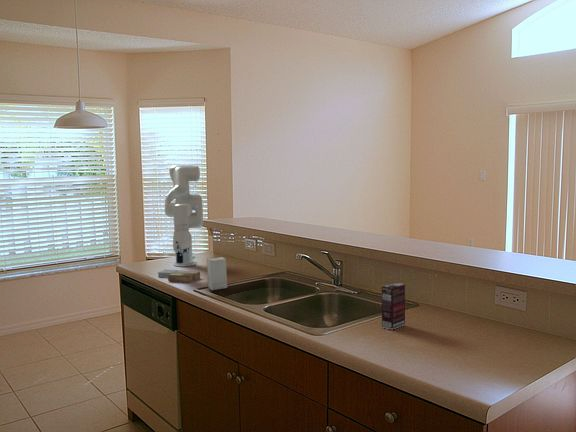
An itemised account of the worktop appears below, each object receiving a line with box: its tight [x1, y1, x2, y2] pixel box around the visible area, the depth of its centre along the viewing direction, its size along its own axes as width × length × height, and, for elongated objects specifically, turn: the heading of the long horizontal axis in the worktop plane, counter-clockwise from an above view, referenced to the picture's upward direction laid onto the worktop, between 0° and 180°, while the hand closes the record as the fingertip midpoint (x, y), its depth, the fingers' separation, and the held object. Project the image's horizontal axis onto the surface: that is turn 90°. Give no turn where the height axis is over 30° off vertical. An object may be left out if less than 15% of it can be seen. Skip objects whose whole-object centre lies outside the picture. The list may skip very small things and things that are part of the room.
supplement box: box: [381, 282, 406, 331], centre depth 194 cm, size 9×5×16 cm, turn 133°
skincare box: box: [206, 256, 228, 291], centre depth 257 cm, size 8×6×15 cm
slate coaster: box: [157, 269, 179, 278], centre depth 287 cm, size 8×8×3 cm
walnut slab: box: [167, 269, 201, 284], centre depth 277 cm, size 12×12×4 cm
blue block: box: [175, 251, 189, 265], centre depth 276 cm, size 5×5×6 cm
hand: (182, 261), depth 276 cm, fingers closed on blue block, 5 cm apart
